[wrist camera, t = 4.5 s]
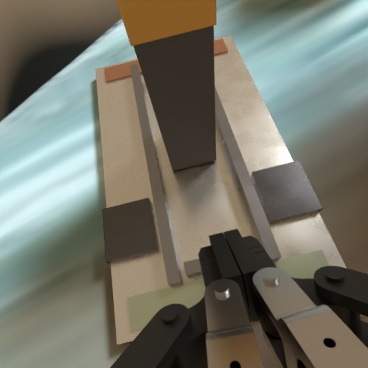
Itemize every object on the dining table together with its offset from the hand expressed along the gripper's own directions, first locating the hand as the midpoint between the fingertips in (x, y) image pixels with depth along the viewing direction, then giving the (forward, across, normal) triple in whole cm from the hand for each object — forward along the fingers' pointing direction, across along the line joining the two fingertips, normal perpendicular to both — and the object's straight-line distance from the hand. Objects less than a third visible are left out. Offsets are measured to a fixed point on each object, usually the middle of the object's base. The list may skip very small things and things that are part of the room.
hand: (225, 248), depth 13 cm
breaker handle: (+10, 0, -4) cm, 11 cm away
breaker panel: (+11, 0, -3) cm, 12 cm away
